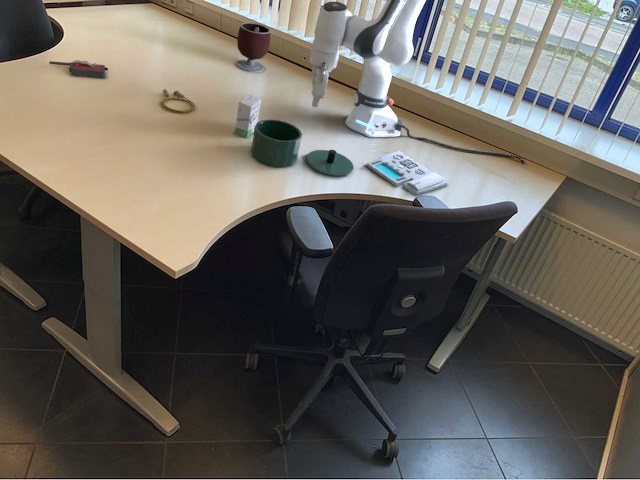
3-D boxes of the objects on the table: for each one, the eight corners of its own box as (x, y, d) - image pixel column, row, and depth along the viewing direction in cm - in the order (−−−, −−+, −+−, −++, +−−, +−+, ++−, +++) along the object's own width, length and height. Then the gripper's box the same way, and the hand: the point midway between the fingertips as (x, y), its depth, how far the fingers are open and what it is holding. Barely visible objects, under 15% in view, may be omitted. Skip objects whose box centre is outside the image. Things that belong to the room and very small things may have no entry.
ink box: (246, 138, 189) (251, 106, 182) (233, 133, 190) (238, 102, 183) (256, 129, 196) (261, 99, 189) (244, 125, 196) (248, 94, 189)
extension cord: (196, 97, 206) (197, 92, 205) (193, 115, 194) (193, 110, 192) (163, 92, 204) (163, 87, 202) (157, 110, 191) (157, 105, 190)
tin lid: (344, 154, 195) (348, 141, 192) (358, 178, 183) (362, 165, 180) (301, 151, 190) (304, 138, 187) (312, 176, 178) (316, 162, 175)
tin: (290, 146, 191) (295, 121, 186) (300, 168, 180) (306, 143, 174) (247, 143, 186) (251, 117, 181) (255, 166, 175) (259, 140, 169)
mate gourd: (233, 58, 247) (239, 13, 235) (264, 63, 250) (271, 18, 239) (235, 71, 235) (241, 24, 223) (267, 76, 238) (274, 30, 227)
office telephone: (449, 179, 192) (416, 192, 179) (447, 185, 193) (413, 198, 180) (400, 147, 203) (365, 157, 190) (398, 153, 205) (363, 164, 192)
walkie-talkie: (108, 69, 209) (49, 64, 201) (107, 58, 206) (48, 53, 199) (108, 79, 202) (48, 74, 195) (108, 67, 200) (47, 62, 192)
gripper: (335, 72, 161) (324, 115, 169) (332, 49, 177) (322, 90, 185) (314, 67, 160) (304, 111, 168) (313, 45, 176) (304, 86, 184)
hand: (314, 100), depth 177 cm, fingers open, 8 cm apart
